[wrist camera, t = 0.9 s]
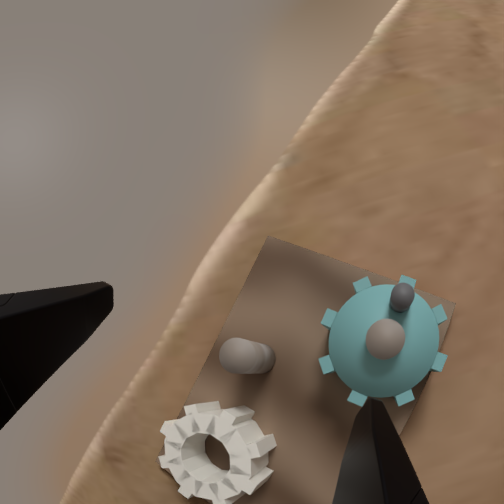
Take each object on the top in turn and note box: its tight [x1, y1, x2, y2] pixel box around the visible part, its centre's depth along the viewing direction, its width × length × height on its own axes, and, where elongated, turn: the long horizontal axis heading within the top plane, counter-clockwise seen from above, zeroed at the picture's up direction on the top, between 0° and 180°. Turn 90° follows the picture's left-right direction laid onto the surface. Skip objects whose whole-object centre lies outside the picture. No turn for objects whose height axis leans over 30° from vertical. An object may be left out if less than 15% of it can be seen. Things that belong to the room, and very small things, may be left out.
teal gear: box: [319, 275, 448, 407], centre depth 15 cm, size 7×7×5 cm
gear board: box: [156, 236, 456, 504], centre depth 16 cm, size 20×14×5 cm
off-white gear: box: [158, 401, 277, 504], centre depth 17 cm, size 7×7×3 cm
